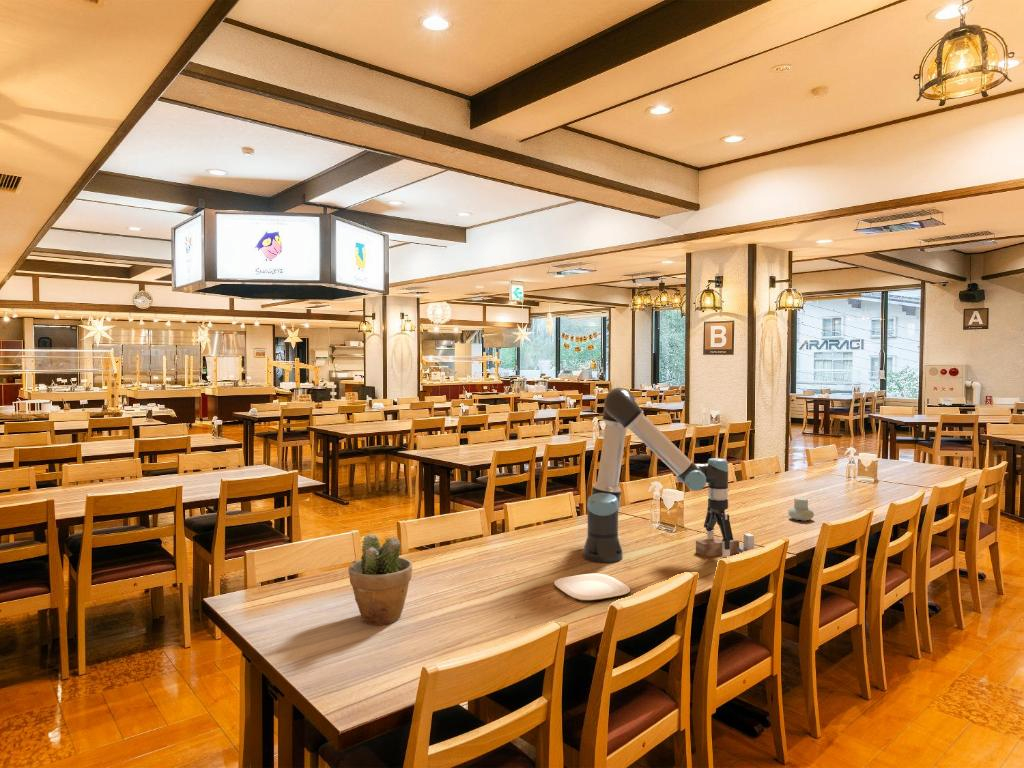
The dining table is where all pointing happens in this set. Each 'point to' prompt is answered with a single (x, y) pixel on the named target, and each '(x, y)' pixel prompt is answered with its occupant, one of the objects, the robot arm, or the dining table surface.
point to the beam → (715, 546)
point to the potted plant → (380, 581)
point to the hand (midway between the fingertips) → (717, 552)
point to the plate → (591, 587)
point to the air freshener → (801, 510)
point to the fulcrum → (747, 542)
